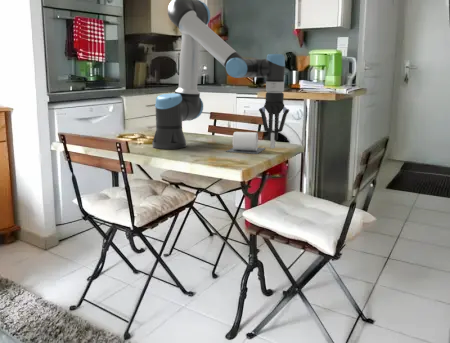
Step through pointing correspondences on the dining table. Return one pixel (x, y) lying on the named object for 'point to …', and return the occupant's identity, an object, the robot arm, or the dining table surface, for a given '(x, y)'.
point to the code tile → (246, 151)
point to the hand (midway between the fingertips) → (272, 147)
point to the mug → (245, 141)
